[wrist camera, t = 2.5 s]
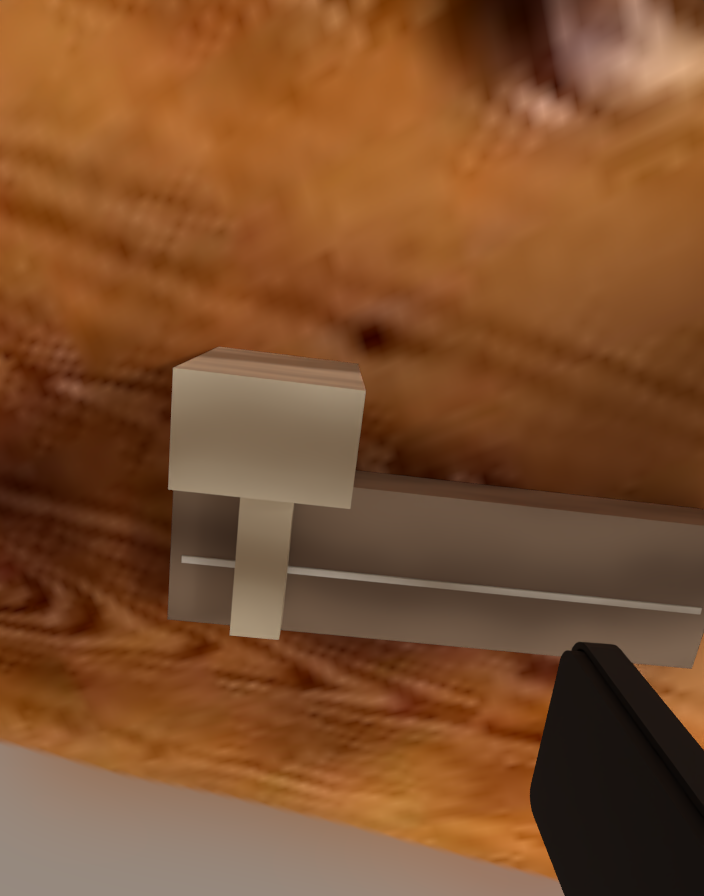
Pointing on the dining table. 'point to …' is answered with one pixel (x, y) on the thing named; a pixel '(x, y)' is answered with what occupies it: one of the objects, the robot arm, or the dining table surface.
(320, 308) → the dining table surface
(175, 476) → the beige t-shaped block
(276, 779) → the dining table surface
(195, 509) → the plank
